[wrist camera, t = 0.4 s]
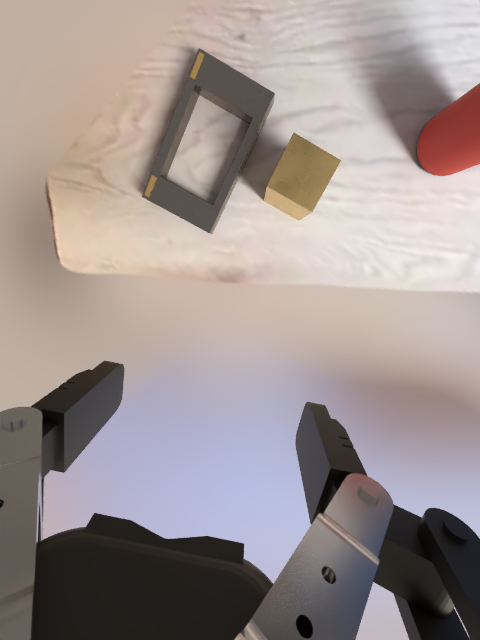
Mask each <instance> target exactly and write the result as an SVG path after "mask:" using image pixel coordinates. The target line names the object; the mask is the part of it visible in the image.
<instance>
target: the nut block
mask: <svg viewBox="0 0 480 640" xmlns="http://www.w3.org/2000/svg"><path fill="white" fill-rule="evenodd" d="M340 161H341V160H340V159H338V158H336V157H334V156H333V155H331V154H329V153H328V152H326V151H324V150H323V149H321V148H319V147H317V146H316V145H314V144H312V143H311V142H309V141H307V140H306V139H304V138H302V137H300V136H299V135H297V134H295V133H293V135H292V137H291V139H290V141H289V143H288V145H287V147H286V148H285V150H284V152H283V154H282V156H281V158H280V160H279V162H278V164H277V166H276V168H275V170H274V172H273V175H272V177H271V179H270V181H269V183H268V185H267V188H266V193H265V198H264V201H265V202H267V203H268V204H270V205H272V206H274V207H275V208H277V209H279V210H281V211H283V212H284V213H286V214H288V215H290V216H291V217H293V218H295V219H297V220H301V219H302V218H304V217H305V216H307V215H308V214H310V213H312V211H313V210H314V208H315V206H316V204H317V203H318V201H319V199H320V197H321V195H322V194H323V192H324V190H325V188H326V186H327V185H328V183H329V181H330V179H331V177H332V176H333V174H334V172H335V170H336V168H337V167H338V165H339V163H340Z"/></svg>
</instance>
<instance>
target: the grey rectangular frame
mask: <svg viewBox="0 0 480 640" xmlns="http://www.w3.org/2000/svg"><path fill="white" fill-rule="evenodd" d="M199 95H201V96H202V97H204V98H206V99H208V100H209V101H211V102H213V103H215V104H216V105H218V106H220V107H221V108H223V109H225V110H227V111H228V112H230V113H232V114H233V115H235V116H237V117H239V118H240V119H242V120H244V121H245V122H247V123H249V124H250V126H249V128H248V130H247V132H246V135H245V137H244V139H243V141H242V143H241V145H240V148H239V150H238V152H237V154H236V156H235V159H234V161H233V163H232V165H231V167H230V170H229V172H228V174H227V176H226V178H225V181H224V183H223V185H222V187H221V189H220V192H219V194H218V196H217V198H216V200H215V202H214V205H211V204H209V203H207V202H206V201H204V200H202V199H200V198H198V197H197V196H195V195H193V194H191V193H189V192H187V191H186V190H184V189H182V188H180V187H178V186H177V185H175V184H173V183H171V182H169V181H167V180H166V177H167V174H168V172H169V169H170V167H171V164H172V161H173V159H174V156H175V154H176V151H177V149H178V146H179V144H180V141H181V139H182V136H183V134H184V131H185V129H186V126H187V124H188V121H189V119H190V116H191V114H192V111H193V109H194V106H195V104H196V101H197V99H198V96H199ZM274 95H275V93H273V92H271V91H270V90H268V89H266V88H265V87H263V86H261V85H260V84H258V83H256V82H255V81H253V80H251V79H250V78H248V77H246V76H245V75H243V74H241V73H240V72H238V71H236V70H235V69H233V68H231V67H230V66H228V65H226V64H225V63H223V62H221V61H220V60H218V59H216V58H215V57H213V56H211V55H209V54H208V53H206V52H204V51H203V50H201V49H199V50H198V52H197V55H196V57H195V60H194V63H193V65H192V68H191V70H190V73H189V76H188V78H187V81H186V84H185V86H184V89H183V91H182V94H181V97H180V99H179V102H178V104H177V107H176V110H175V112H174V115H173V117H172V120H171V123H170V125H169V128H168V130H167V133H166V136H165V138H164V141H163V143H162V146H161V149H160V151H159V154H158V157H157V159H156V162H155V164H154V167H153V170H152V172H151V175H150V177H149V180H148V183H147V185H146V188H145V190H144V193H143V196H142V197H143V198H145V199H147V200H149V201H151V202H153V203H155V204H156V205H158V206H160V207H162V208H164V209H166V210H168V211H169V212H171V213H173V214H175V215H177V216H179V217H180V218H182V219H184V220H186V221H188V222H190V223H192V224H193V225H195V226H197V227H199V228H201V229H203V230H205V231H206V232H208V233H210V234H212V233H213V231H214V229H215V227H216V225H217V223H218V221H219V218H220V216H221V214H222V212H223V210H224V208H225V206H226V203H227V201H228V199H229V197H230V195H231V193H232V191H233V189H234V186H235V184H236V182H237V180H238V178H239V176H240V174H241V171H242V169H243V167H244V165H245V163H246V161H247V159H248V156H249V154H250V152H251V150H252V148H253V146H254V144H255V142H256V139H257V137H258V135H259V133H260V131H261V129H262V127H263V124H264V122H265V120H266V118H267V116H268V114H269V112H270V110H271V107H272V105H273V103H274Z"/></svg>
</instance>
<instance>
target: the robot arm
mask: <svg viewBox="0 0 480 640" xmlns="http://www.w3.org/2000/svg"><path fill="white" fill-rule="evenodd" d="M123 378H124V366H123V364H119V363H114V362H109V361H103V362H102V363H101V364H99V365H98V366H97V367H96V368H94V369H93V370H86V371H83V372H81V373H78V374H76V375H74V376H73V377H71V378H70V379H69V380H67V382H65V383H63V384H62V385H60V386H59V388H56V389H55V390H53V391H52V392H51V393H49V394H48V395H47V396H45V397H44V398H42V399H41V400H40V401H38V402H37V403H35V404H34V405H32V406H31V407H17V408H12V409H8V410H5V411H2V412H0V640H355V639H356V635H357V632H358V629H359V626H360V623H361V619H362V616H363V613H364V610H365V606H366V603H367V600H368V597H369V593H370V590H371V587H372V584H373V582H375V583H376V584H378V585H380V586H382V587H384V588H385V589H387V590H389V591H391V592H392V593H394V596H395V599H396V602H397V605H398V608H399V611H400V613H401V617H402V619H403V622H404V625H405V628H406V631H407V634H408V637H409V639H410V640H480V539H479V538H478V536H477V535H476V534H475V532H473V530H472V529H471V528H470V527H469V526H468V525H466V524H465V523H464V522H463V521H461V520H460V519H459V518H457V517H456V516H454V515H452V514H450V513H448V512H446V511H444V510H441V509H437V508H429V509H427V510H426V511H425V513H424V515H423V517H422V518H421V517H419V516H417V515H415V514H413V513H411V512H408V511H406V510H404V509H402V508H400V507H398V506H396V505H394V504H393V501H392V499H391V497H390V495H389V493H388V492H387V491H386V490H385V489H384V488H383V487H382V486H381V485H380V484H379V483H378V482H376V481H375V480H373V479H371V478H370V477H368V476H367V474H366V472H365V470H364V468H363V466H362V463H361V461H360V459H359V457H358V455H357V453H356V451H355V449H354V448H353V444H352V442H351V441H350V438H349V436H348V434H347V432H346V430H345V429H344V427H343V426H342V425H341V424H340V423H339V422H338V421H337V420H335V419H331V418H330V415H329V413H328V411H327V408H326V406H325V405H321V404H315V403H311V402H307V403H306V404H305V407H304V410H303V413H302V417H301V420H300V423H299V427H298V430H297V434H296V450H297V455H298V460H299V465H300V470H301V476H302V481H303V486H304V491H305V497H306V502H307V507H308V512H309V518H310V523H311V524H312V525H311V527H310V528H309V530H308V531H307V533H306V534H305V536H304V537H303V539H302V541H301V542H300V544H299V545H298V547H297V548H296V550H295V551H294V554H293V555H292V556H291V558H290V559H289V561H288V563H287V564H286V566H285V567H284V569H283V570H282V572H281V573H280V575H279V576H278V578H277V580H276V581H275V583H274V584H273V583H272V582H271V581H270V580H269V578H268V577H267V576H266V575H265V574H264V573H262V571H261V570H259V569H258V568H257V567H255V566H254V565H253V564H252V563H250V562H249V561H247V560H245V559H243V557H244V544H243V543H238V542H234V541H229V540H224V539H219V538H214V537H209V536H203V537H190V538H178V539H164V538H162V537H160V536H159V535H157V534H155V533H153V532H151V531H149V530H148V529H145V528H144V527H142V526H140V525H138V524H137V523H135V522H133V521H131V520H126V519H121V518H116V517H111V516H107V515H102V514H97V513H94V515H93V516H92V518H91V520H90V521H89V523H88V525H87V526H86V527H81V528H76V529H71V530H67V531H64V532H61V533H58V534H55V535H53V536H50V537H48V538H46V539H44V540H43V512H44V477H45V475H46V474H47V473H48V472H49V471H50V470H54V471H59V472H65V471H66V470H67V469H68V467H69V466H70V465H71V464H72V463H73V462H74V460H75V459H76V458H77V457H78V455H79V454H80V453H81V452H82V451H83V450H84V449H85V447H86V446H87V445H88V444H89V443H90V441H91V440H92V439H93V437H95V435H96V434H97V433H98V432H99V431H100V430H101V428H102V427H103V426H104V425H105V424H106V422H107V421H108V420H109V419H110V418H111V416H112V415H113V414H114V413H115V412H116V410H117V409H118V407H119V405H120V403H121V400H122V393H123ZM454 607H455V608H456V610H457V612H458V614H459V616H460V618H461V620H462V622H463V624H464V626H465V628H466V630H467V632H468V635H469V637H470V639H469V637H468V635H467V633H466V631H465V630H464V627H463V625H462V623H461V621H460V619H459V617H458V615H457V613H456V611H455V609H454Z"/></svg>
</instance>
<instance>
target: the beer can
mask: <svg viewBox="0 0 480 640" xmlns="http://www.w3.org/2000/svg"><path fill="white" fill-rule="evenodd" d="M417 156H418V159H419V162H420V164H421V166H422V167H423V168H424V169H425V171H427V172H429V173H431V174H433V175H438V176H446V175H451V174H454V173H457V172H459V171H462V170H465V169H467V168H470V167H472V166H475V165H478V164H480V83H479V84H478V85H477V86H475V87H474V88H473V89H471V90H470V91H468V92H467V93H466V94H464V95H463V96H462V97H460V98H459V99H458V100H456V101H455V102H453V103H452V104H451V105H449V106H448V107H447V108H445V109H444V110H443V111H441V112H440V113H439V114H437V115H436V116H434V117H433V118H432V119H431V120H430V121H429V122H428V123H427V124H426V125H425V127H424V129H423V131H422V132H421V134H420V137H419V140H418V144H417Z"/></svg>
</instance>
